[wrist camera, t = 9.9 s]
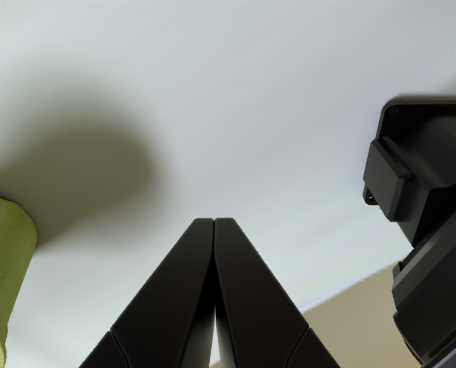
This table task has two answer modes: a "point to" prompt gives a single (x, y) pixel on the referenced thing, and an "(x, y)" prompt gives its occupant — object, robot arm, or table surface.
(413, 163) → the robot arm
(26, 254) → the plant pot
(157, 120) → the table surface
